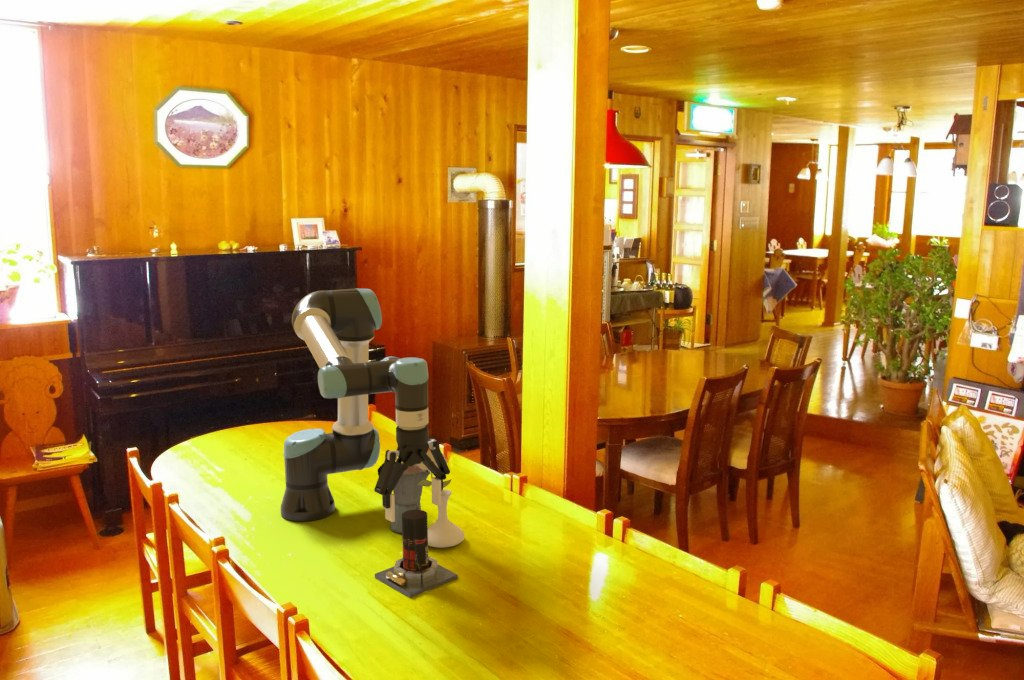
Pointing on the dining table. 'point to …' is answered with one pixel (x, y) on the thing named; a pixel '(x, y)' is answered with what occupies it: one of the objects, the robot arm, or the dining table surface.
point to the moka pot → (407, 493)
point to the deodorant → (415, 540)
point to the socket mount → (415, 578)
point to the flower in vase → (442, 517)
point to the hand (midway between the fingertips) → (413, 512)
